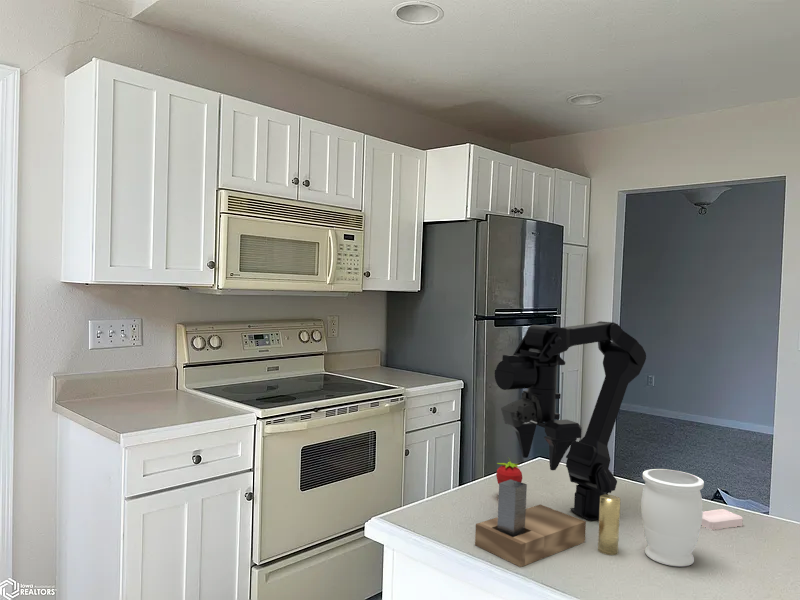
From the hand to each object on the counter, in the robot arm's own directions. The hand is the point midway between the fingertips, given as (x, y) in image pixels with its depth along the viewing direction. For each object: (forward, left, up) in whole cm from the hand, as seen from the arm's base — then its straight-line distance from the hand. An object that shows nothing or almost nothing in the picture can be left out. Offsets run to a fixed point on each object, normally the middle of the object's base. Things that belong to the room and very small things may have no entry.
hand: (538, 463), depth 125 cm
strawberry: (-4, -16, -13) cm, 21 cm away
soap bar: (-39, +11, -14) cm, 43 cm away
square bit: (+12, +8, -13) cm, 19 cm away
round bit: (-6, +14, -13) cm, 20 cm away
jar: (-15, +20, -13) cm, 28 cm away
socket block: (+6, +6, -13) cm, 16 cm away
